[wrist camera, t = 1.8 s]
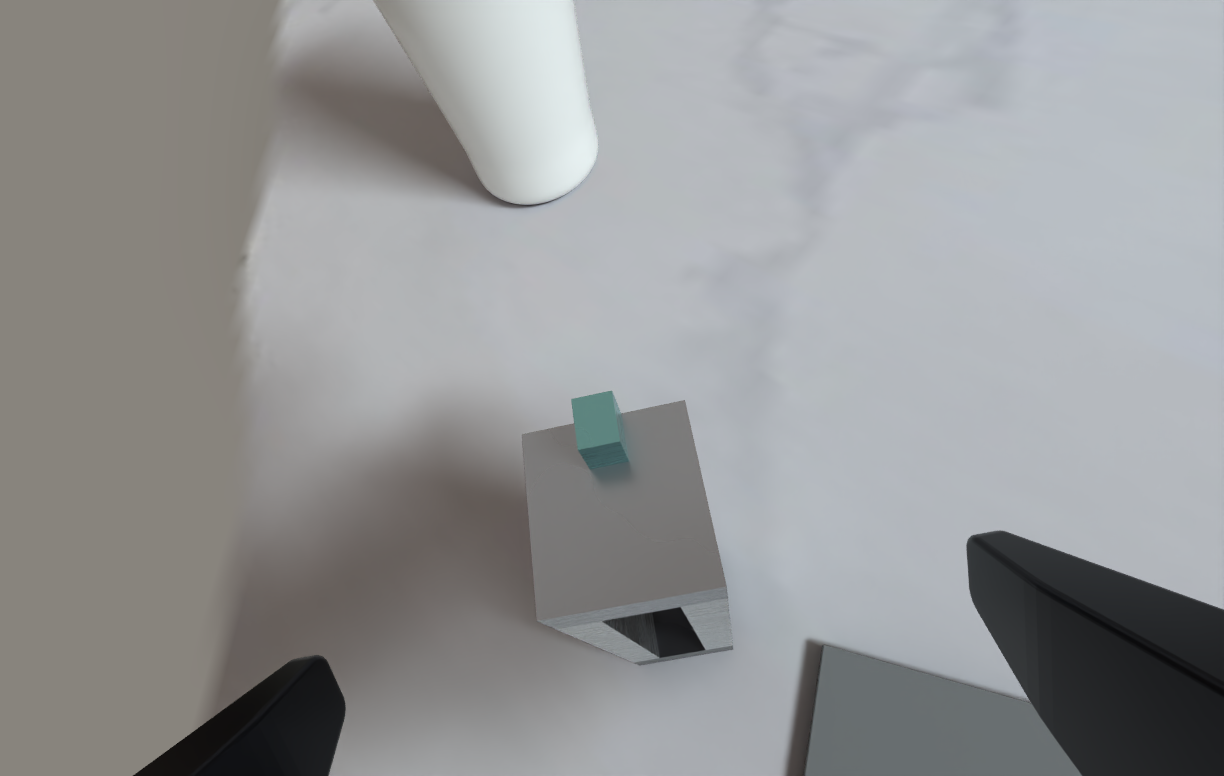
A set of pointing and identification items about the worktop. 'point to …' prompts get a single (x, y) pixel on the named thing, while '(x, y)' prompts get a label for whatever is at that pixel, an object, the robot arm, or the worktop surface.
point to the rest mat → (921, 726)
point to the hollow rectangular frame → (625, 533)
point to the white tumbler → (506, 88)
